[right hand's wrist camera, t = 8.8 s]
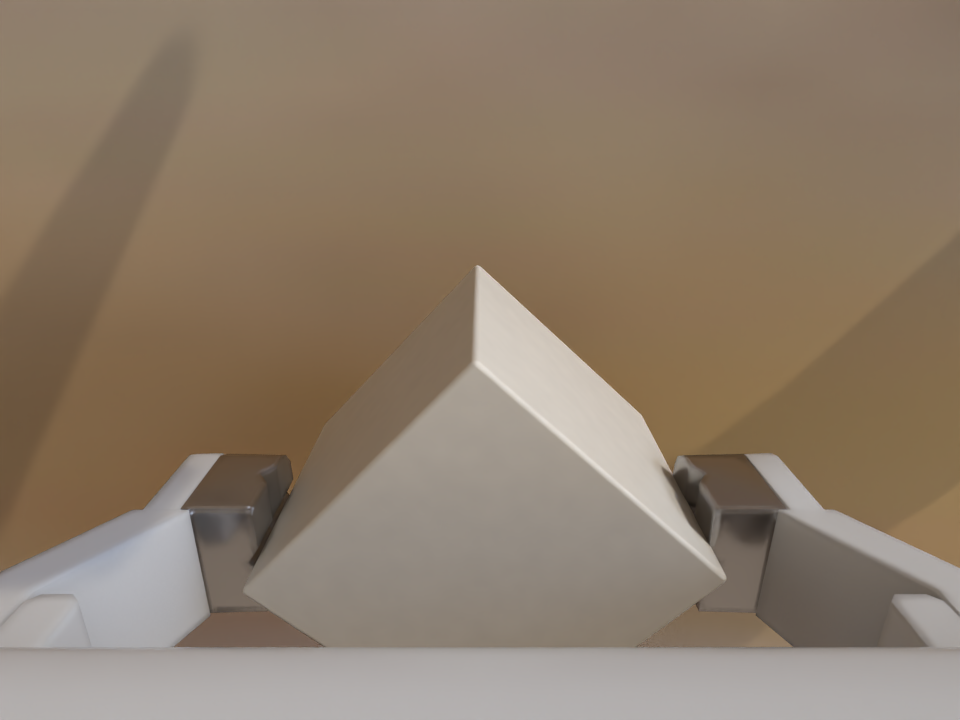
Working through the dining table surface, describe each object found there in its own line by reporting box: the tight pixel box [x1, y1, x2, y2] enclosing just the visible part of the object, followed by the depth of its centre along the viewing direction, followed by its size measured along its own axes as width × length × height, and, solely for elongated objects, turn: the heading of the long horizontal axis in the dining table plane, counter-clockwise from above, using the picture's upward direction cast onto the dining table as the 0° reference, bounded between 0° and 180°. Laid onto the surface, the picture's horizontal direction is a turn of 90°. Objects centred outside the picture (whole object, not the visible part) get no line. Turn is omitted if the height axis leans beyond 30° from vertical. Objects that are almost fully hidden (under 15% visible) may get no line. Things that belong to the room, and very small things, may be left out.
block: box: [243, 265, 727, 647], centre depth 10 cm, size 4×4×5 cm
